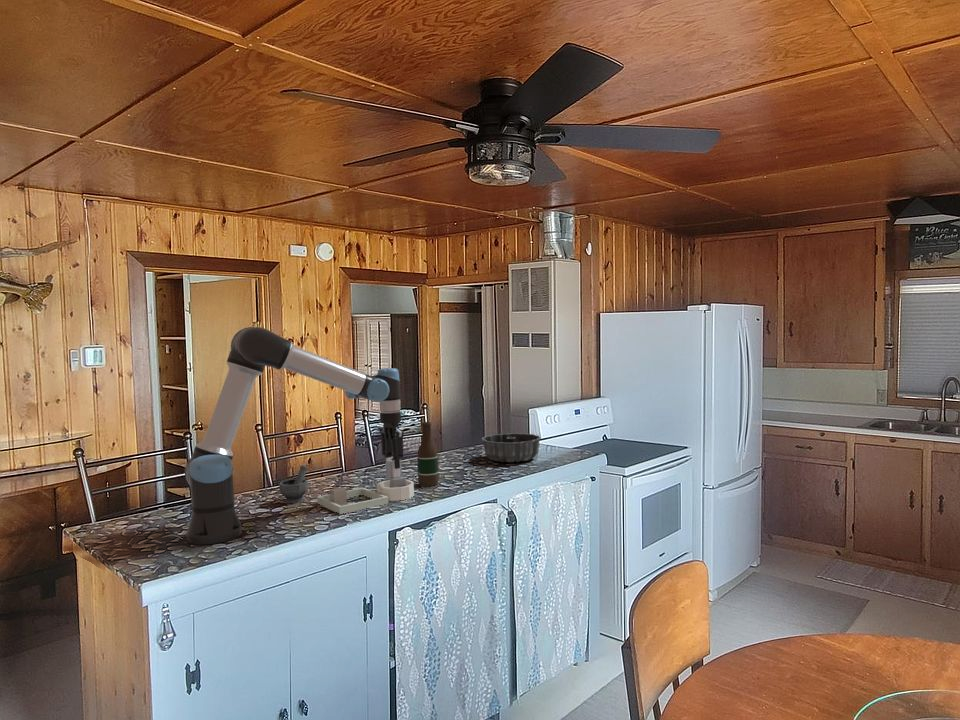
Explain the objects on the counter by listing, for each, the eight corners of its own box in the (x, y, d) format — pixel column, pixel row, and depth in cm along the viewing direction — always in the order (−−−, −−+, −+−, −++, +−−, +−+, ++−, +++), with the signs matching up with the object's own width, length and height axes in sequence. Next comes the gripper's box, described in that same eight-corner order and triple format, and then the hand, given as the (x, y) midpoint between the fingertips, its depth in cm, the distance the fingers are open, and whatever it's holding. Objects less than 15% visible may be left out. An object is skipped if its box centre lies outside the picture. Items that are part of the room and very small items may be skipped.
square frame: (340, 514, 213) (339, 507, 213) (317, 503, 227) (316, 496, 227) (388, 503, 224) (388, 496, 224) (363, 494, 238) (363, 487, 238)
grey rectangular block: (394, 496, 230) (394, 480, 229) (390, 494, 233) (389, 478, 232) (406, 494, 232) (405, 477, 232) (401, 492, 235) (400, 476, 235)
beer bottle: (442, 484, 249) (440, 421, 248) (427, 488, 244) (425, 424, 242) (429, 481, 255) (427, 420, 253) (414, 485, 249) (411, 422, 248)
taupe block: (334, 509, 219) (334, 491, 219) (330, 507, 222) (329, 489, 222) (347, 506, 222) (346, 489, 222) (342, 504, 225) (341, 487, 224)
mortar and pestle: (292, 506, 224) (291, 471, 224) (274, 502, 229) (272, 469, 229) (317, 498, 234) (315, 465, 233) (299, 495, 239) (297, 463, 238)
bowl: (389, 503, 224) (388, 490, 224) (370, 496, 235) (370, 483, 234) (420, 496, 232) (420, 483, 232) (401, 489, 243) (401, 477, 242)
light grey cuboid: (390, 478, 232) (390, 461, 232) (386, 477, 234) (385, 460, 234) (401, 476, 235) (401, 459, 234) (397, 474, 237) (396, 458, 237)
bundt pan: (486, 453, 307) (485, 432, 306) (542, 453, 303) (541, 432, 303) (478, 465, 281) (477, 442, 280) (539, 465, 277) (539, 442, 277)
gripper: (411, 412, 229) (414, 478, 230) (387, 408, 242) (391, 471, 243) (392, 414, 224) (396, 482, 226) (369, 410, 237) (373, 474, 239)
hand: (393, 476), depth 234 cm, fingers closed on light grey cuboid, 3 cm apart
